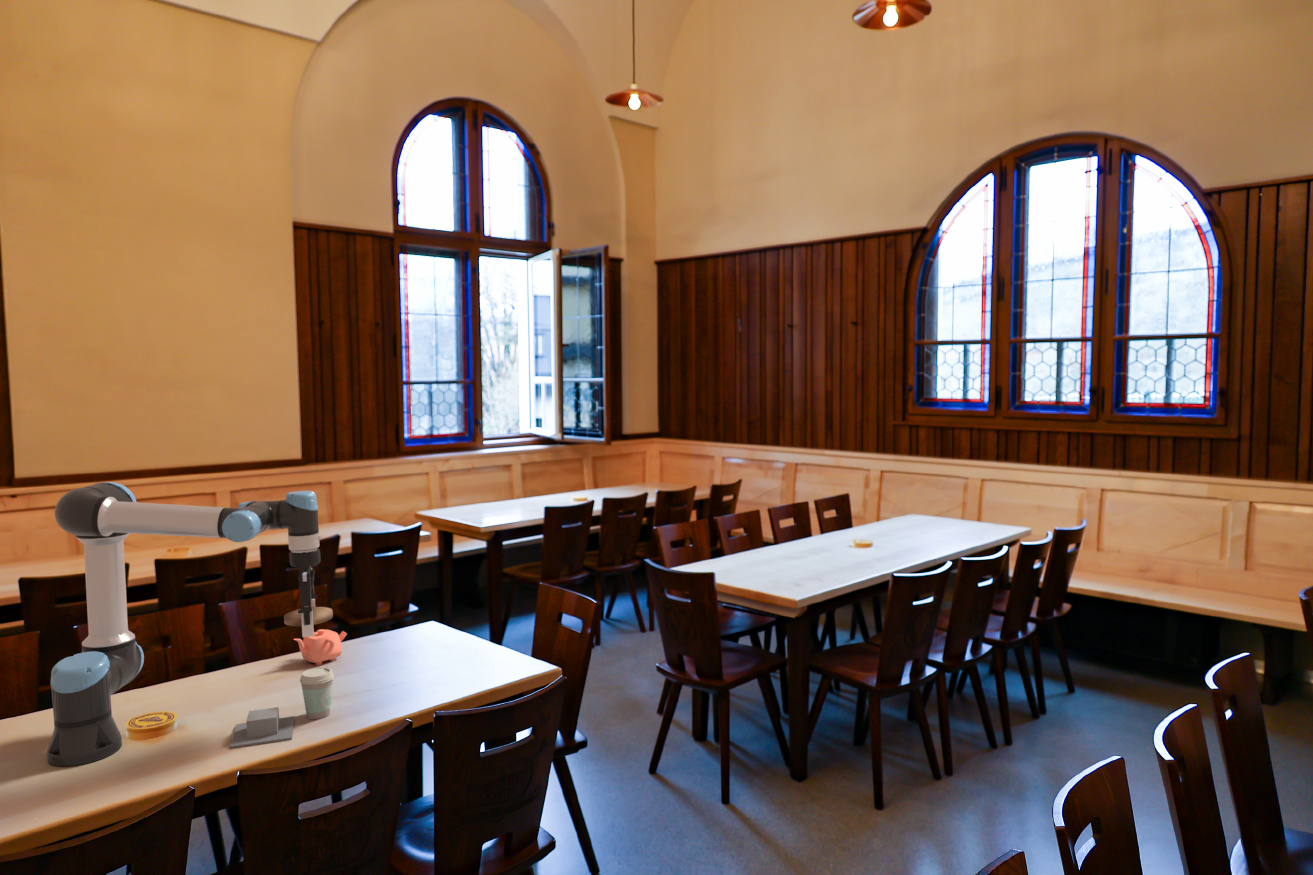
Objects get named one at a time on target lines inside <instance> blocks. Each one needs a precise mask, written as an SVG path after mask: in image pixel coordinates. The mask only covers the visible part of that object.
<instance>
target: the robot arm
mask: <svg viewBox="0 0 1313 875" xmlns="http://www.w3.org/2000/svg"><path fill="white" fill-rule="evenodd" d="M54 517H55V521H56V523H57V525H58V526H59V527H60V528H61V529H62V530H63V531H65V532H66V533H68V534H71V535H73V536H75V537H76V538H75V539H76V540H78V541H79V542H80V543H82V544H83V552H84V553H83V555H84V557H83V558H84V570H85V571H84V573H85V591H86V592H85V593H86V594H85V596H86V607H87V608H86V611H87V612H86V613H87V630H88V636H87V637H86V638H85V639H84V640H82V642H81V652H80V653H76V654H73V656H67V657H64V658H62V659H60V660H59V661H58V662H57V663H56V664H55V665H54V666H53V667H52V669H51V672H50V674H51V675H50V688H51V699H52V711H53V713H52V714H53V724H54V725H53V726H54V728H53V730H52V735H51V738H50V741H49V745H48V747H47V751H46V757H47V758H46V759H47V763H48V764H50V765H51V766H55V767H73V766H81V765H84V764H85V765H86V764H89V763H93V762H96V761H99V760H102V759H105V758H107V757H109V756H111V755H114V754H115V753H116V752H118V751H119V750H120V749H121V748H122V746H123V741H122V740H123V738H122V734H121V731H120V730H119V727H118V726H117V724H116V722H115V720H114V717H113V716H112V715H113V713H112V699H111V698H112V697H111V696H113V695H114V694H115V693H116V692H118V691H119V690H120V689H122V688H123V687H125V686H127V685H128V684H130V683H131V682H132V681H133V680H134V679H135V678H136V677H137V675H138V674H139V673H140V672H141V670H142V668H143V666H144V662H145V661H144V660H145V655H144V651H143V648H142V647H141V646H140V645H138V643H137V641H136V635H135V633H133V632H132V631H130V630H129V624H128V622H129V621H128V606H127V604H128V602H127V601H128V600H127V585H126V583H127V582H126V564H125V562H126V561H125V560H126V559H125V545H124V544H125V543H124V540H126V538H128V537H129V535H131V534H135V535H137V534H138V535H140V534H141V535H158V536H159V535H160V536H177V537H195V538H198V537H199V538H218V539H219V538H220V539H227V540H230V541H231V542H233V543H245V542H249V541H250V540H252V539H254V538H255V537H256V536H258V535H260V534H261V533H263V532H265V531H267V530H279V529H283V530H284V529H287V538H288V539H287V541H288V550H289V551H290V552H289V564H290V566H291V567H295V568H298V567H299V568H300V570H298V571H297V580H298V589H299V597H300V599H299V602H300V608H299V609H300V610H298V609H297V610H298V613H301V621H302V626H301V635H302V638H304V637H310V636H314V632H315V631H314V630H315V629H314V625H313V612H312V607H316V599H317V598H318V593H315V584H314V583H315V569H313V566H316V565H319V564H320V563H321V560H322V559H321V550H320V548H319V547H320V541H321V540H322V539H323V537H322V536H321V535H319V534H320V533H319V532H320V529H319V506H318V501H317V494H316V492H314V491H312V490H300V491H299V490H298V491H291V492H288V493H286V495H285V499H281V500H257V501H256V500H252V501H244V502H243V501H242V502H241V503H239V504H238V506H237V507H225V506H224V507H223V506H222V507H220V506H204V505H187V504H186V505H185V504H172V503H171V504H169V503H154V502H153V503H152V502H137V498H136V496H135V495H134V493H133V492H132V491H131V489H129V488H128V487H127V486H125V485H124V484H122V483H118V482H114V481H106V482H105V481H102V482H96V483H94V484H90V485H86V486H83V487H79V488H75V489H71V490H70V491H68V492H66V493H64V494H63V495H62V496H61V497H60V498H59V500H58V501H57V503H56V505H55V508H54Z"/></svg>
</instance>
